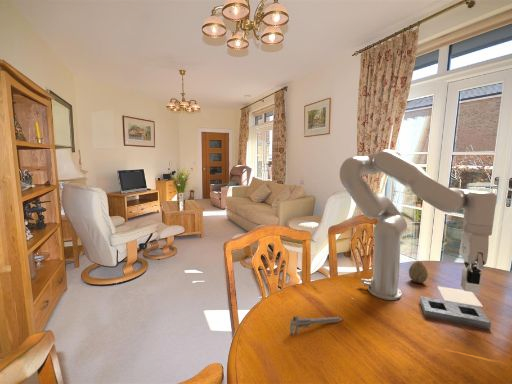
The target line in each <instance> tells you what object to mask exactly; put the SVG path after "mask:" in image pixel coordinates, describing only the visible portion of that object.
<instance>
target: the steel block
mask: <svg viewBox="0 0 512 384" xmlns="http://www.w3.org/2000/svg"><path fill="white" fill-rule="evenodd" d="M474 266H477V265H473V267H474ZM461 270H462V271H461V272H462V273H461V279H460V280H461V281H460V286H461V288H462V290H464V291H468V292H472V293H474V294H480V291H481V283H482V273H483V270H481V275H480V283H479V284H472V283H468V282H467V276H468V271H470V265H468V264H464V263H463V264H462V269H461Z"/></svg>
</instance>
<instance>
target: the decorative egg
mask: <svg viewBox="0 0 512 384" xmlns="http://www.w3.org/2000/svg"><path fill="white" fill-rule="evenodd" d="M408 275H409V278H410V279H411V281H413V282H414V283H415V284H416V283H417V284H423V283H425V282H426V280H427V279H428V275H429V273H428V270H427V267H426V266H425V265H424V263H423V262H421V260H417V261H415V262H413V263H412V264H411V265H410V267H409V269H408Z"/></svg>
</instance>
